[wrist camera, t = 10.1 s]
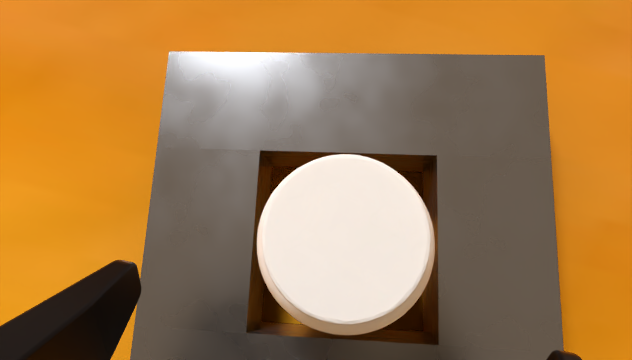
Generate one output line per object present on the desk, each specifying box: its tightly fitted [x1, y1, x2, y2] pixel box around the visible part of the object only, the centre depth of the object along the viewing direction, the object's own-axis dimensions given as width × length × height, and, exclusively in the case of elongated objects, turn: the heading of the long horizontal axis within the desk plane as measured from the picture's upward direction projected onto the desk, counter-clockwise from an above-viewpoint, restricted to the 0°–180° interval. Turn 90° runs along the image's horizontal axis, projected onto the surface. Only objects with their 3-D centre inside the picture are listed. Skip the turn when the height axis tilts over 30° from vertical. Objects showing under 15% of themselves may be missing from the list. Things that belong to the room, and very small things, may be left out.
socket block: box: [130, 52, 564, 360], centre depth 17 cm, size 16×16×3 cm
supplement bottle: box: [257, 154, 435, 335], centre depth 14 cm, size 5×5×10 cm
